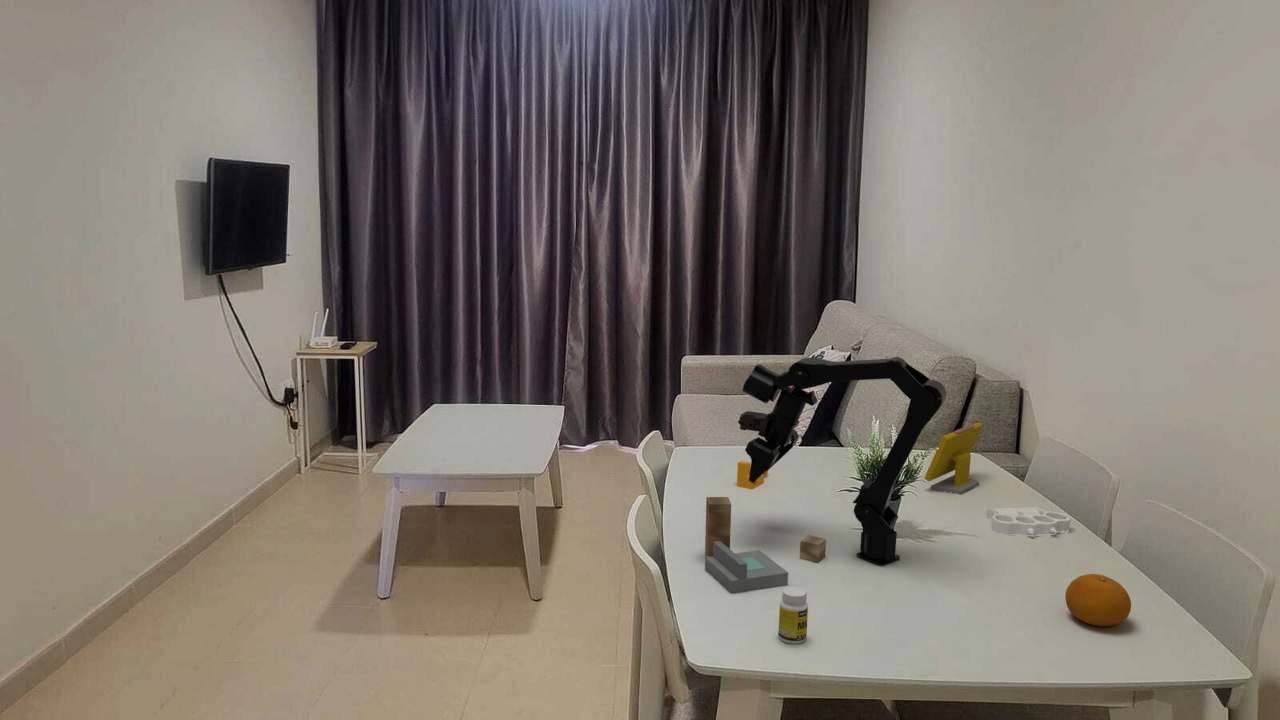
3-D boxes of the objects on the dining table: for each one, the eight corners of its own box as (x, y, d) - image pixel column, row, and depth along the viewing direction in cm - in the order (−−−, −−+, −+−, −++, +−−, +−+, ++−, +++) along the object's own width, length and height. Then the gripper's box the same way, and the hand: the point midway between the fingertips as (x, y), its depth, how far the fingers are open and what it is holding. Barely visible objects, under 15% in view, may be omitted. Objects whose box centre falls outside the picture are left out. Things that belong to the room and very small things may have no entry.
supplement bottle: (799, 647, 153) (802, 599, 152) (773, 639, 156) (775, 593, 154) (810, 635, 157) (813, 589, 156) (785, 628, 160) (787, 583, 158)
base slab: (758, 561, 189) (759, 535, 188) (787, 584, 178) (788, 557, 177) (704, 569, 185) (705, 542, 184) (731, 593, 174) (732, 565, 173)
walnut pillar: (726, 554, 192) (728, 496, 190) (729, 563, 188) (731, 504, 186) (704, 554, 192) (706, 497, 190) (707, 563, 188) (708, 504, 185)
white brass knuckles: (1044, 516, 219) (1082, 539, 205) (973, 519, 216) (1006, 542, 202) (1045, 502, 218) (1083, 524, 204) (974, 505, 216) (1007, 528, 201)
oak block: (825, 557, 192) (826, 538, 191) (817, 563, 188) (818, 545, 188) (807, 553, 194) (808, 534, 193) (799, 559, 191) (800, 540, 190)
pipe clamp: (752, 490, 234) (752, 465, 233) (736, 486, 237) (737, 462, 236) (773, 478, 244) (774, 454, 243) (758, 475, 247) (759, 452, 245)
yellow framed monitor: (958, 475, 249) (963, 418, 246) (987, 481, 243) (992, 423, 241) (923, 491, 235) (927, 431, 232) (952, 498, 229) (957, 437, 226)
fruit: (1143, 631, 161) (1148, 588, 159) (1089, 636, 159) (1094, 592, 157) (1101, 605, 171) (1106, 564, 169) (1051, 609, 169) (1055, 568, 167)
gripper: (766, 388, 206) (740, 447, 211) (737, 405, 189) (710, 469, 195) (811, 411, 202) (783, 471, 207) (786, 430, 186) (756, 495, 191)
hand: (758, 475), depth 200 cm, fingers open, 9 cm apart
